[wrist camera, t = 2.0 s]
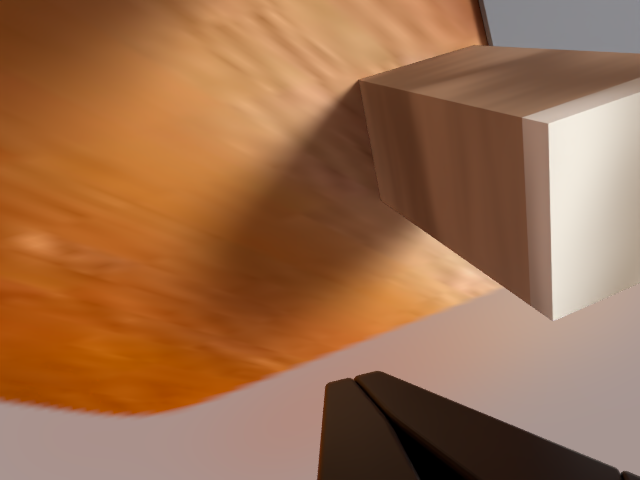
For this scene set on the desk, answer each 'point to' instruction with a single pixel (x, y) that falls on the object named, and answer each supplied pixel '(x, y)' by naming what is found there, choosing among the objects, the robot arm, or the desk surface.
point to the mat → (563, 24)
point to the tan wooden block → (518, 165)
